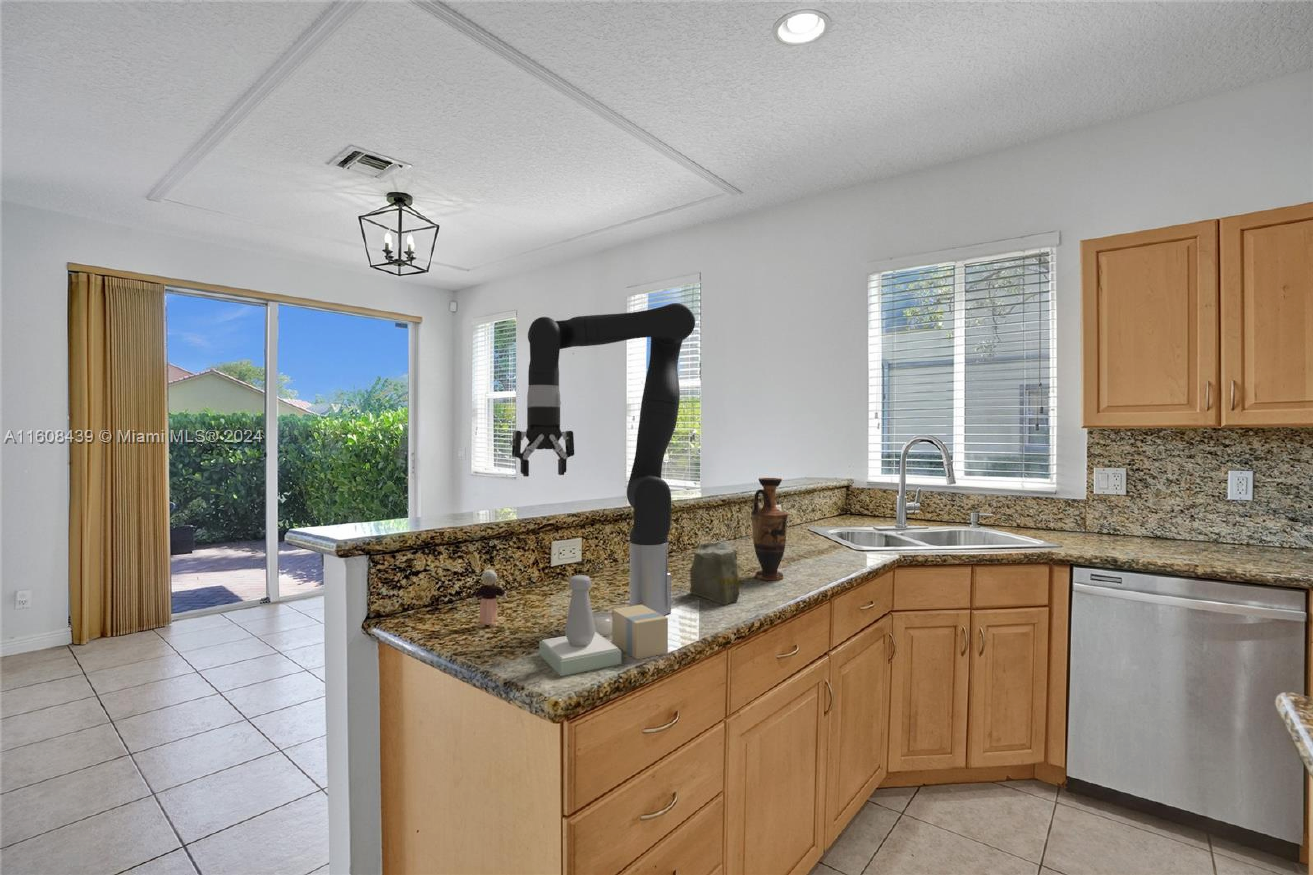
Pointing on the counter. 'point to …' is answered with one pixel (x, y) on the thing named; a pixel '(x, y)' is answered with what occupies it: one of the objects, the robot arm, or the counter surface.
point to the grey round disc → (603, 623)
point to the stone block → (715, 572)
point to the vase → (769, 531)
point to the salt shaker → (580, 613)
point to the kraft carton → (640, 631)
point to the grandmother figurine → (488, 599)
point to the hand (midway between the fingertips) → (543, 475)
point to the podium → (579, 655)
